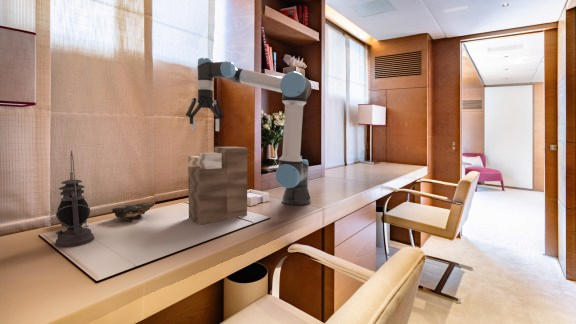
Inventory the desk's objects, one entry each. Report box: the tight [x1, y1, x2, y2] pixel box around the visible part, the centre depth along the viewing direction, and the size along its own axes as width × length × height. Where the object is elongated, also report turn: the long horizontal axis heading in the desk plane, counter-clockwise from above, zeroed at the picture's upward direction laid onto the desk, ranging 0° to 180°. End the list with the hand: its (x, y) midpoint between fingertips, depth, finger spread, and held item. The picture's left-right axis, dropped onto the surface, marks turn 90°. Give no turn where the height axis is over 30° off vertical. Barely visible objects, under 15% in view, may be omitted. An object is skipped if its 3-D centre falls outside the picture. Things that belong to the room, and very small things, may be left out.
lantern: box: [54, 150, 95, 249], centre depth 97 cm, size 12×11×30 cm
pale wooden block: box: [187, 152, 222, 169], centre depth 127 cm, size 21×7×6 cm, turn 41°
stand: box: [187, 146, 249, 225], centre depth 128 cm, size 11×22×30 cm, turn 132°
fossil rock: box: [111, 202, 155, 221], centre depth 124 cm, size 14×14×6 cm
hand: (205, 131), depth 156 cm, fingers open, 13 cm apart
